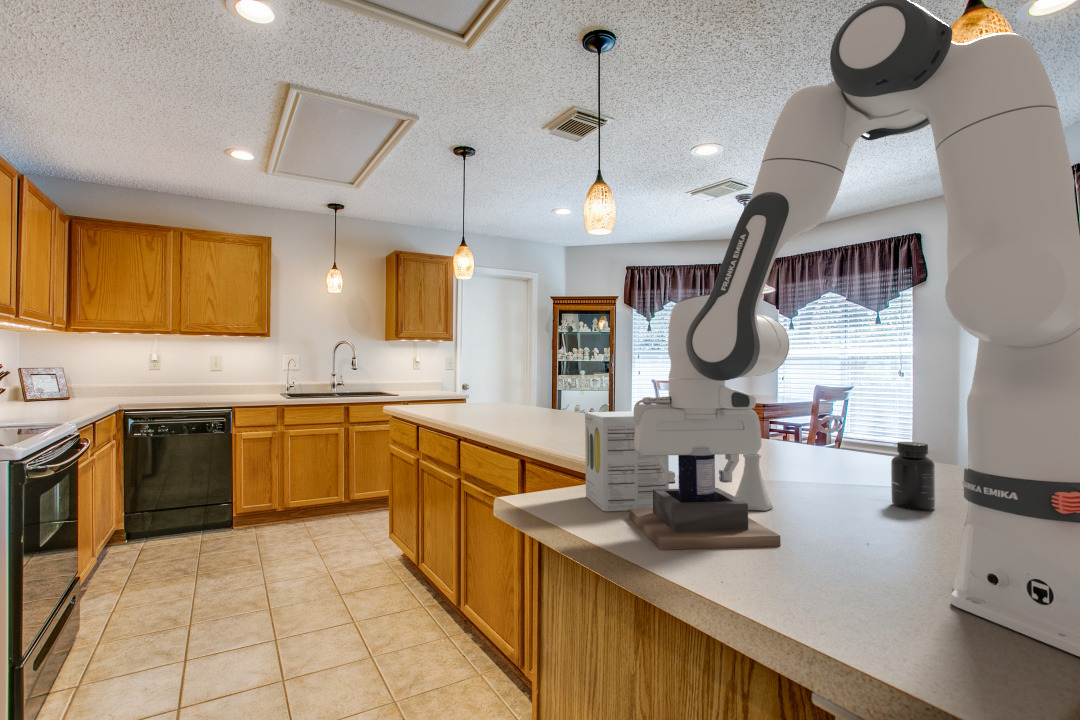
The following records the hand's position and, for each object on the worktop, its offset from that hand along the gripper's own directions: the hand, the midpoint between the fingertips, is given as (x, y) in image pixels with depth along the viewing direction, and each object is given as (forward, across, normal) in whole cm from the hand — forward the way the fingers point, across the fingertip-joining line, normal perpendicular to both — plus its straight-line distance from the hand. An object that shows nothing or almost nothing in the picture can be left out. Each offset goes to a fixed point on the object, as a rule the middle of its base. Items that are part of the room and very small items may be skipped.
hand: (697, 482), depth 89 cm
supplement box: (+8, -7, +20) cm, 23 cm away
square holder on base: (+8, 0, 0) cm, 8 cm away
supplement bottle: (+8, +46, +11) cm, 48 cm away
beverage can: (+6, 0, 0) cm, 6 cm away
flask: (+8, +16, +14) cm, 23 cm away
